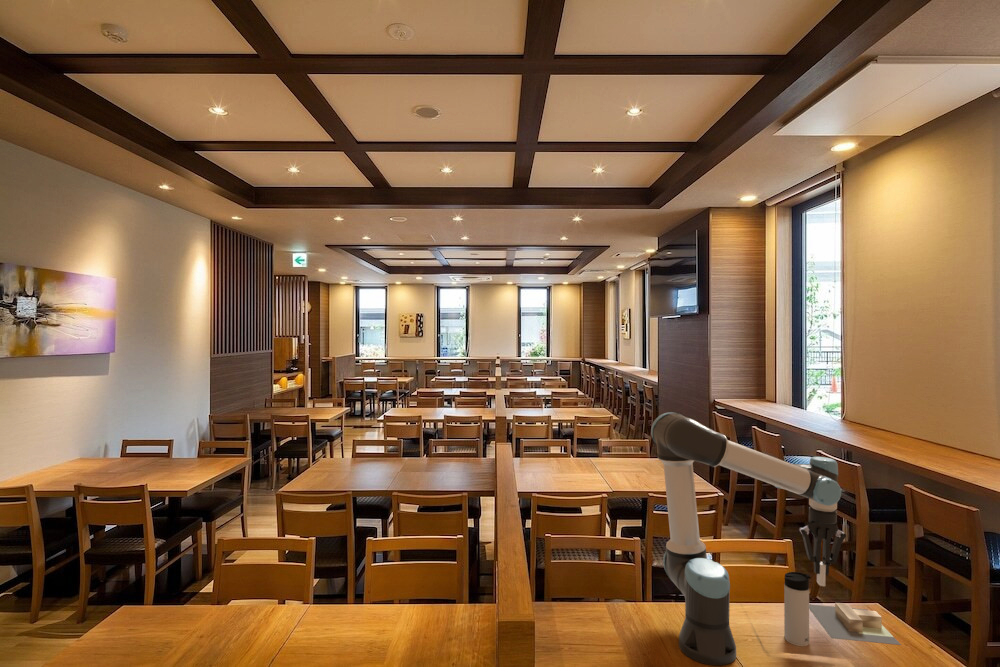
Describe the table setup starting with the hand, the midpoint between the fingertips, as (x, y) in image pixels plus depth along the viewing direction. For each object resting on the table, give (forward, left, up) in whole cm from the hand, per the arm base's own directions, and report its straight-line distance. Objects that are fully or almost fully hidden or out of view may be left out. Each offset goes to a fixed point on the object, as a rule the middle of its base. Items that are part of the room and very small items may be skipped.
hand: (820, 584), depth 167 cm
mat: (+8, -2, -12) cm, 14 cm away
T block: (+10, -2, -10) cm, 15 cm away
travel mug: (-11, -15, -12) cm, 22 cm away
